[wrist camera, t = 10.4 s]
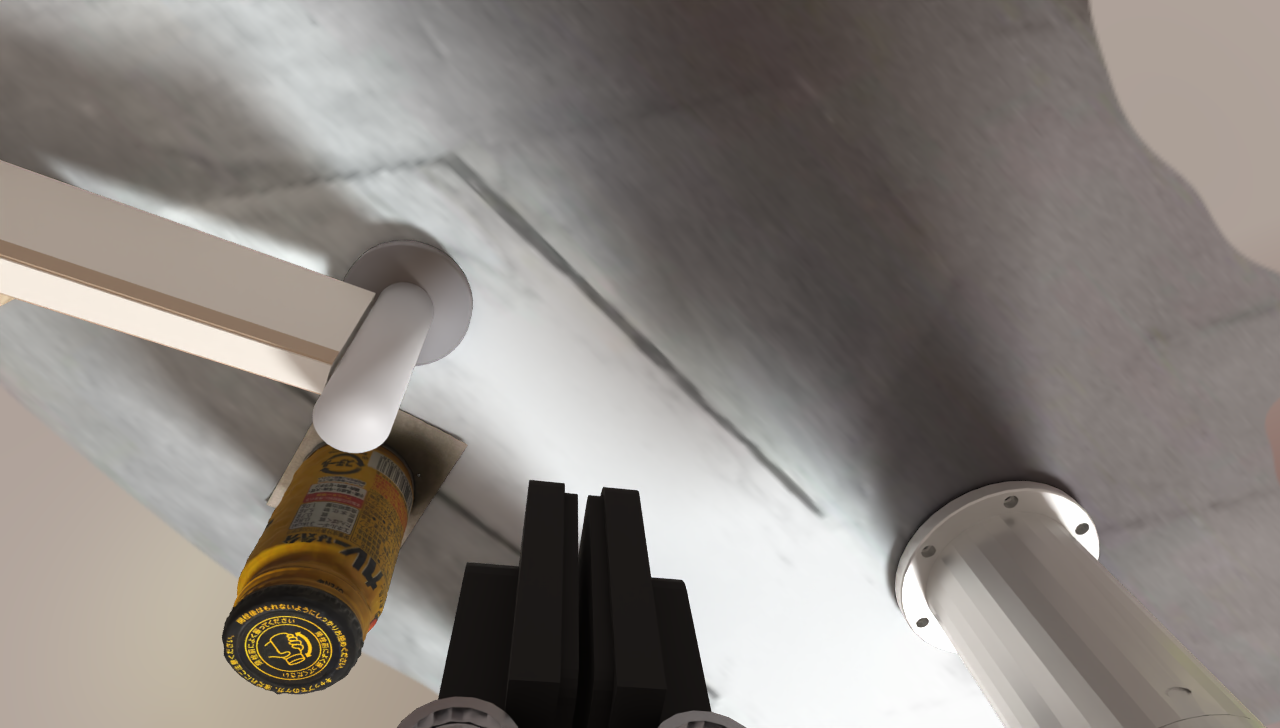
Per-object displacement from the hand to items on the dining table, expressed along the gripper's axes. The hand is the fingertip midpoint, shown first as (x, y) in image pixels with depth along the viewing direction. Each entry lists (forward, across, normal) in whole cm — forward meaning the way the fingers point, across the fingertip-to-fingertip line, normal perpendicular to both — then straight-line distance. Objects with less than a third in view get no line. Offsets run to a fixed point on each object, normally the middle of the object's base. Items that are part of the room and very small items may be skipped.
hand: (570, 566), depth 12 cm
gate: (+25, +17, +3) cm, 30 cm away
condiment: (+27, +9, +15) cm, 32 cm away
